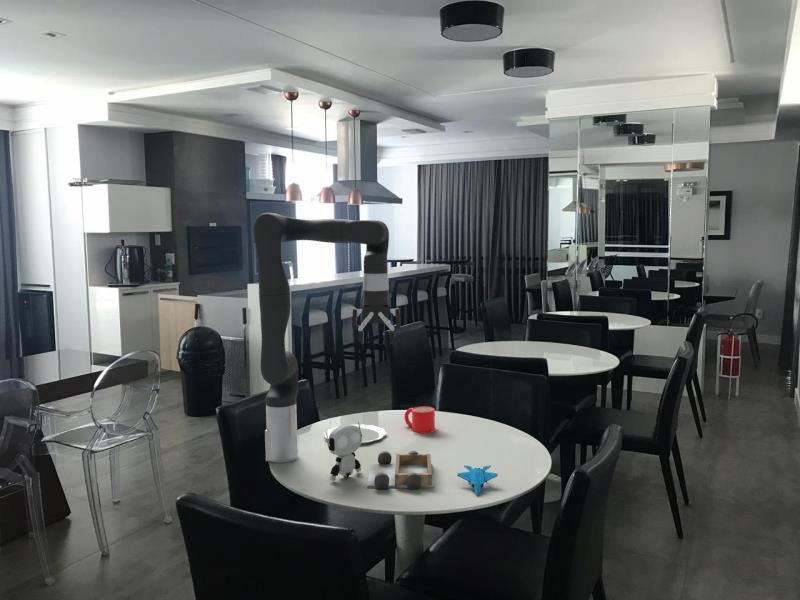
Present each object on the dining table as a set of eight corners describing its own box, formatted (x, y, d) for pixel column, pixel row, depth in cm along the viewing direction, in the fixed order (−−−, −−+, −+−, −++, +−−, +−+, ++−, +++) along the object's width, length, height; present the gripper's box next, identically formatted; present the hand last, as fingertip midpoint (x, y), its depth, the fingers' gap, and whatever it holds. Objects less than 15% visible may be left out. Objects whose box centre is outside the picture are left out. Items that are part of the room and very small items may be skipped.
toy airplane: (453, 482, 182) (452, 467, 181) (482, 475, 186) (482, 460, 185) (477, 496, 171) (476, 481, 171) (508, 488, 176) (507, 473, 175)
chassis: (366, 489, 177) (366, 475, 176) (371, 464, 197) (371, 451, 196) (434, 489, 176) (433, 475, 176) (431, 463, 196) (431, 450, 196)
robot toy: (335, 485, 180) (334, 432, 179) (325, 481, 183) (323, 429, 182) (368, 474, 189) (367, 422, 187) (358, 470, 192) (357, 419, 190)
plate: (312, 437, 225) (312, 432, 225) (360, 425, 238) (360, 420, 238) (349, 451, 209) (348, 446, 209) (398, 438, 223) (398, 433, 223)
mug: (410, 425, 237) (410, 403, 236) (439, 430, 230) (439, 408, 229) (398, 430, 231) (397, 408, 230) (426, 436, 224) (426, 413, 223)
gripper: (350, 290, 190) (351, 345, 192) (399, 289, 190) (400, 345, 191) (352, 288, 198) (353, 341, 199) (400, 287, 197) (401, 341, 199)
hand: (376, 343), depth 195 cm, fingers open, 8 cm apart
